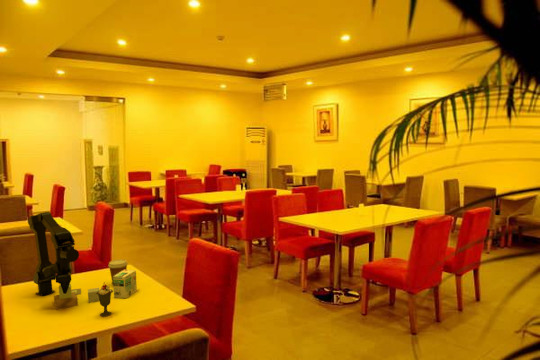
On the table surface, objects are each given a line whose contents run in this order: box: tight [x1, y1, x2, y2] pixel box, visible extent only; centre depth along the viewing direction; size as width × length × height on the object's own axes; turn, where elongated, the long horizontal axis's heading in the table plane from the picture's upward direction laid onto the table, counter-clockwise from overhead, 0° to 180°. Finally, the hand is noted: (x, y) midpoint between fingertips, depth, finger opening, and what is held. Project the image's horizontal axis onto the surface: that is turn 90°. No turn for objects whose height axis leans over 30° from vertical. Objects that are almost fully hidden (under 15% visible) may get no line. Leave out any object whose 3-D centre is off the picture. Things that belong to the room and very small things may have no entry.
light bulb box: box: [112, 269, 138, 299], centre depth 203 cm, size 11×7×11 cm, turn 168°
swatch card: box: [71, 288, 82, 296], centre depth 206 cm, size 8×8×1 cm
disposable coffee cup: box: [108, 259, 129, 284], centre depth 217 cm, size 10×10×12 cm
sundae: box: [96, 282, 114, 318], centre depth 179 cm, size 7×7×15 cm
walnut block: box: [53, 292, 79, 311], centre depth 192 cm, size 9×9×4 cm
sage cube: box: [58, 283, 72, 299], centre depth 191 cm, size 5×5×5 cm
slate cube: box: [87, 287, 100, 304], centre depth 196 cm, size 5×5×5 cm
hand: (65, 290), depth 191 cm, fingers open, 8 cm apart
